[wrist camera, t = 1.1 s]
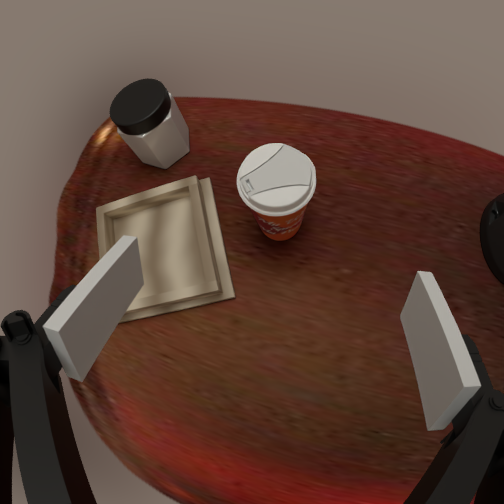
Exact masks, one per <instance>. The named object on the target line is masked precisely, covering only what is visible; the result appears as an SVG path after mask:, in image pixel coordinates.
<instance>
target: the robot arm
mask: <svg viewBox="0 0 504 504" xmlns="http://www.w3.org/2000/svg"><path fill="white" fill-rule="evenodd" d="M480 238H481V245H482V249H483V253H484V256H485V259H486V261H487V263H488V265H489V267H490V269H491V271H492V272H493V273H494V275H495V276H496V277H497V278H498V279H499V280H500V281H501V282H502V283H503V284H504V193H503V194H501V195H499V196H497V197H496V198H495V199H493V200H492V201H491V202H490V203H489V204H488V205H487V206H486V208H485V210H484V212H483V215H482V219H481V225H480ZM143 285H144V280H143V273H142V267H141V260H140V253H139V246H138V239H137V237H134V236H125V235H123V236H122V237H121V238H120V239H119V240H118V242H117V243H116V244H115V245H114V246H113V247H112V248H111V249H110V250H109V251H108V252H107V253H106V254H105V255H104V256H103V257H102V258H101V260H100V261H99V262H98V263H97V264H96V265H95V266H94V267H93V268H92V269H91V270H90V272H89V273H88V274H87V275H86V276H85V277H84V278H83V279H82V281H81V282H80V283H79V284H78V285H77V286H76V285H71V286H70V287H68V288H66V289H65V290H63V291H62V292H61V293H60V295H59V296H58V297H57V298H56V300H54V301H53V303H52V304H51V306H49V307H48V309H46V311H45V312H44V313H43V314H42V315H41V317H40V318H39V319H38V320H37V321H36V323H35V324H33V322H32V319H31V317H30V315H29V313H27V312H26V311H23V310H18V311H14V312H12V313H10V314H9V315H7V316H6V317H5V318H4V319H3V321H2V323H1V328H2V330H3V332H4V334H5V335H6V336H0V504H12V460H13V459H12V458H13V443H14V437H15V444H16V450H17V455H18V461H19V467H20V472H21V477H22V481H23V486H24V490H25V494H26V498H27V501H28V504H97V503H96V500H95V498H94V495H93V493H92V490H91V487H90V485H89V482H88V479H87V476H86V473H85V470H84V467H83V464H82V461H81V458H80V455H79V451H78V448H77V445H76V441H75V438H74V434H73V430H72V427H71V423H70V419H69V414H68V410H67V406H66V401H65V397H64V392H63V387H62V382H61V378H60V376H59V371H60V370H61V368H62V367H63V369H64V371H65V373H66V375H67V376H68V377H71V378H73V379H76V380H79V381H83V380H84V378H85V376H86V375H87V373H88V371H89V370H90V368H91V366H92V365H93V363H94V361H95V360H96V358H97V356H98V355H99V353H100V352H101V350H102V348H103V347H104V345H105V343H106V342H107V340H108V339H109V337H110V336H111V334H112V332H113V331H114V329H115V328H116V326H117V324H118V323H119V321H120V320H121V318H122V317H123V315H124V314H125V312H126V311H127V309H128V308H129V306H130V304H131V303H132V301H133V300H134V298H135V297H136V295H137V294H138V292H139V291H140V289H141V288H142V286H143ZM400 318H401V322H402V325H403V329H404V332H405V336H406V339H407V343H408V346H409V350H410V354H411V358H412V362H413V366H414V370H415V374H416V378H417V382H418V387H419V391H420V395H421V400H422V405H423V410H424V415H425V420H426V425H427V430H428V431H430V430H442V429H445V428H446V427H447V426H448V424H449V423H450V422H451V421H452V424H453V428H454V429H453V430H452V431H451V432H450V433H449V434H448V435H447V436H446V437H445V438H444V439H443V440H442V441H441V442H440V443H441V444H442V443H443V442H444V444H443V445H442V447H441V449H440V450H439V452H438V454H437V455H436V457H435V458H434V460H433V462H432V463H431V465H430V466H429V468H428V469H427V471H426V472H425V474H424V475H423V477H422V478H421V480H420V481H419V483H418V484H417V486H416V487H415V488H414V490H413V491H412V493H411V494H410V495H409V497H408V498H407V499H406V501H405V502H404V503H403V504H470V502H471V500H472V499H473V497H474V495H475V493H476V491H477V493H476V497H475V501H474V504H504V394H503V393H501V392H500V391H498V390H494V389H493V386H492V384H491V381H490V379H489V376H488V373H487V371H486V368H485V366H484V363H482V359H481V356H480V355H479V351H478V349H477V347H476V345H475V343H474V342H473V340H472V339H471V338H470V337H469V336H468V335H462V334H461V333H460V331H459V329H458V326H457V324H456V322H455V320H454V318H453V315H452V313H451V311H450V309H449V307H448V305H447V303H446V300H445V298H444V296H443V294H442V292H441V290H440V288H439V286H438V284H437V282H436V280H435V278H434V276H433V275H432V273H431V272H422V271H417V274H416V277H415V279H414V282H413V285H412V287H411V290H410V293H409V295H408V298H407V300H406V303H405V305H404V308H403V310H402V313H401V315H400ZM477 489H478V490H477Z"/></svg>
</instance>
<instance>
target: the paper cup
mask: <svg viewBox="0 0 504 504" xmlns="http://www.w3.org/2000/svg"><path fill="white" fill-rule="evenodd" d="M315 186H316V175H315V167H314V165H313V163H312V162H311V160H310V159H309V158H308V157H307V156H306V155H305V154H303V153H301V152H300V151H298V150H296V149H295V148H293V147H290V146H288V145H285V144H280V143H272V144H266V145H263V146H260V147H259V148H257V149H255V150H254V151H252V152H251V153H250V154H249V155H248V156H247V157H246V158H245V160H244V162H243V163H242V165H241V167H240V168H239V171H238V175H237V187H238V191H239V194H240V196H241V198H242V199H243V201H244V202H245V203H246V204H247V205H248V206H249V207H250V210H251V211H252V213H253V215H254V217H255V219H256V221H257V223H258V225H259V227H260V229H261V230H262V232H263V233H264V234H265V235H266V236H267V237H269V238H270V239H273V240H277V241H283V240H287V239H290V238H291V237H293V236H294V235H295V234H296V233H297V232H298V230H299V228H300V226H301V223H302V220H303V217H304V213H305V210H306V207H307V203H308V202H309V200H310V199H311V197H312V195H313V193H314V191H315Z"/></svg>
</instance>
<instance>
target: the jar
mask: <svg viewBox="0 0 504 504" xmlns="http://www.w3.org/2000/svg"><path fill="white" fill-rule="evenodd" d="M110 117H111V119H112V121H113V122H114V123H115V125H116V126H117V127H118V131H117V132H118V133H119V135H120V136H121V137H122V138H123V139H124V141H125V142H126V143H127V144H128V145H129V147H130V148H131V149H132V150H133V151H134V153H135V154H136V155H137V156H138V157H139V159H140V160H141V161H142V162H143V163H146V164H149V165H153V166H156V167H160V168H163V169H167V168H168V167H170V166H171V165H172V164H174V163H175V162H176V161H178V160H179V159H180V158H182V157H183V156H184V155H186V154H187V153H188V152H189V151H190V149H189V129H188V127H187V125H186V123H185V121H184V119H183V117H182V115H181V113H180V111H179V109H178V106H177V104H176V102H175V100H174V98H173V96H172V94H171V93H168V91H167V89H166V88H165V87H164V85H163V84H162V83H161V82H160V81H158V80H155V79H142V80H138V81H136V82H133V83H131V84H129V85H128V86H126V87H125V88H124V89H122V90H121V91H120V92H119V93H118V94H117V95H116V97H115V98H114V100H113V102H112V104H111V107H110Z"/></svg>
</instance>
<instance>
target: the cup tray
mask: <svg viewBox="0 0 504 504" xmlns="http://www.w3.org/2000/svg"><path fill="white" fill-rule="evenodd" d="M96 214H97V231H98V245H99V257H100V260H101V258H102V257H103V256H104V255H105V254H106V253H107V252H108V251H109V250H110V249H111V248H112V247H113V246H114V245H115V244H116V243H117V242H118V240H119V239H120V238H121V237H122V236H123V235H125V236H134V237H137V239H138V246H139V253H140V260H141V267H142V273H143V280H144V285H143V286H142V288H141V289H140V291H139V292H138V294H137V295H136V297H135V298H134V300H133V301H132V303H131V304H130V306H129V308H128V309H127V311H126V312H125V314H124V315H123V317H122V318H121V320H120V321H119V323H122V322H127V321H132V320H137V319H141V318H146V317H151V316H156V315H160V314H165V313H170V312H174V311H179V310H183V309H188V308H192V307H197V306H201V305H206V304H210V303H214V302H219V301H223V300H227V299H232V298H236V296H235V291H234V287H233V282H232V278H231V273H230V269H229V264H228V259H227V255H226V250H225V246H224V241H223V236H222V232H221V227H220V222H219V217H218V213H217V208H216V203H215V198H214V193H213V188H212V183H211V180H210V178H206V179H202V180H198V178H197V177H196V176H192V177H189V178H185V179H182V180H179V181H176V182H172V183H169V184H166V185H163V186H159V187H156V188H153V189H150V190H147V191H144V192H141V193H138V194H135V195H132V196H129V197H126V198H123V199H120V200H117V201H114V202H112V203H109V204H106V205H103V206H100V207H98V208H96Z"/></svg>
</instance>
